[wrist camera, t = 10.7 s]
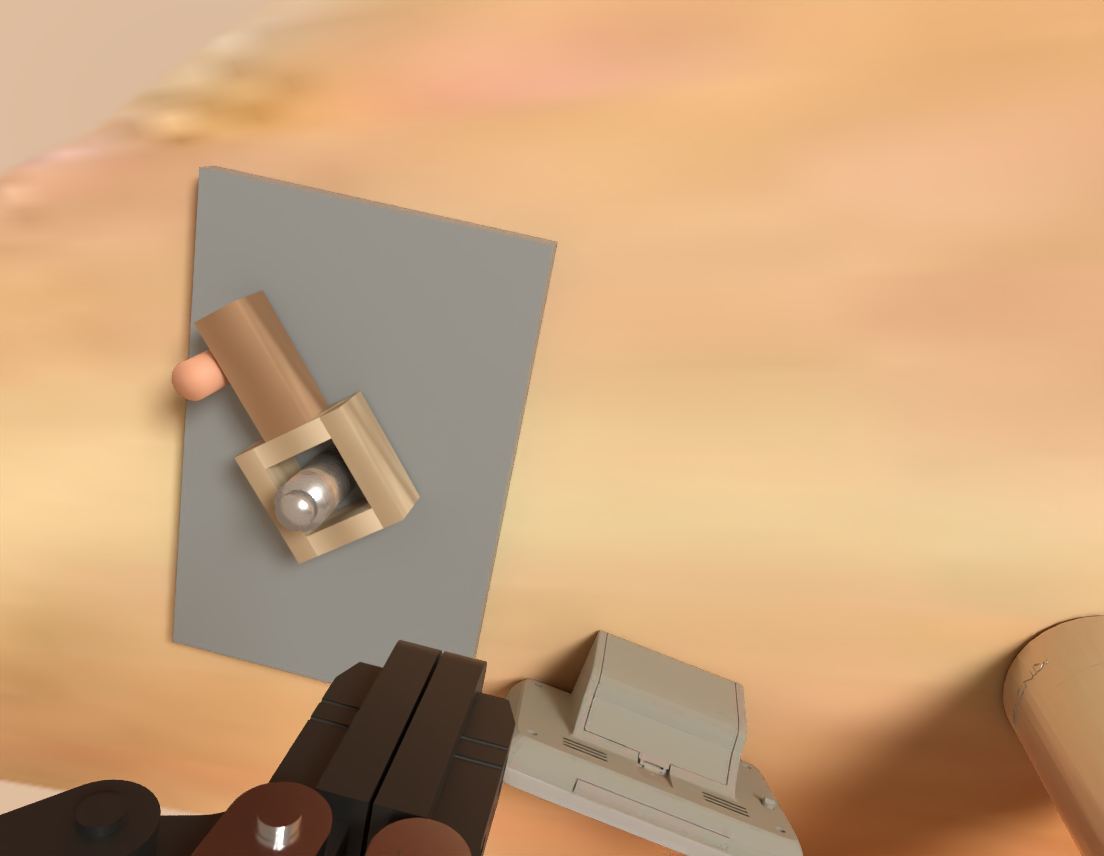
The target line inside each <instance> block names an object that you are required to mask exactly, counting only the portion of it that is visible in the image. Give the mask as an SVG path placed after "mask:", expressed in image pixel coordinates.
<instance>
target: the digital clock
mask: <svg viewBox="0 0 1104 856" xmlns="http://www.w3.org/2000/svg"><path fill="white" fill-rule="evenodd" d="M505 699H506V700H509V702H510V706H511V709H512V713H513V716H514V720H515V723H516V724H515V729H514V733H513V738H512V742H511V747H510V751H509V756H508V760H507V764H506V769H505V773H504V778H503V782H505V783H507V784H509V785H511V786H513V787H515V788H517V789H520V790H522V791H525V792H527V793H530V794H532V795H535V796H537V797H539V798H542V799H544V800H547V801H549V802H552V803H555V804H557V805H560V806H562V807H565V808H567V809H570V810H572V811H575V812H578V813H580V814H583V815H585V816H588V817H590V818H593V819H595V820H598V821H600V822H603V823H606V824H608V825H611V826H613V827H616V828H618V829H621V830H623V831H626V832H629V833H631V834H634V835H636V836H639V837H641V838H644V839H646V840H649V841H651V842H654V843H657V844H659V845H662V846H664V847H667V848H669V849H672V850H674V851H677V852H680V853H682V854H685V855H687V856H803V853H802V849H801V846H800V843H799V841H798V838H797V836H796V834H795V832H794V830H793V829H792V827H791V825H790V823H789V821H788V820H787V818H786V816H785V814H784V813H783V811H782V809H781V807H780V805H779V804H778V802H777V800H776V798H775V797H774V795H773V793H772V791H771V790H770V788H769V786H768V784H767V782H766V781H765V779H764V777H763V776H762V774H761V773H760V771H759V770H758V769H757V768H756V767H754V766H753V765H751V764H749V763H747V762H744V761H742V760H740V757H741V753H742V750H743V747H744V743H745V740H746V734H747V721H746V712H745V702H744V693H743V686H742V685H740V684H738V683H735V682H733V681H730V680H727V679H725V678H722V677H720V676H717V675H715V674H712V673H709V672H707V671H704V670H702V669H699V668H696V667H694V666H691V665H689V664H686V663H684V662H681V661H678V660H676V659H673V658H671V657H668V656H665V655H663V654H660V653H658V652H655V651H653V650H650V649H647V648H645V647H642V646H640V645H637V644H635V643H632V642H629V641H627V640H624V639H622V638H619V637H616V636H614V635H611V634H609V633H606V632H604V631H599V632H598V633H597V635H596V638H595V640H594V642H593V645H592V647H591V649H590V651H589V654H588V656H587V658H586V661H585V663H584V665H583V668H582V670H581V672H580V674H579V677H578V679H577V681H576V684H575V686H574V688H573V691H572V693H568V692H565V691H563V690H560V689H557V688H555V687H552V686H549V685H547V684H544V683H541V682H539V681H536V680H532V679H525V680H523V681H521V682H519V683H517V684H516V685H514V686H513V687H512V688H511V689H510V690H509V692H508V693H507V695H506V698H505Z"/></svg>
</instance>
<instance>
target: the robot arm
mask: <svg viewBox="0 0 1104 856" xmlns="http://www.w3.org/2000/svg"><path fill="white" fill-rule="evenodd" d="M486 666H487V662H486V661H482V660H478V659H474V658H470V657H466V656H462V655H459V654H455V653H451V652H447V651H444V653H443V654H442V650H438V649H434V648H431V647H427V646H423V645H419V644H415V643H411V642H407V641H403V640H399V641H398V642H397V643H396V645H395V647H394V649H393V650H392V652H391V654H390V656H389V657H388V659H387V661H386V663H385V665H384V666H383V668H382V667H378V666H375V665H371V664H367V663H363V662H358V663H357V664H355V665H354V666H352V667H351V668H349V669H348V670H346V671H344V672H343V673H341V674H340V675H338V676H337V677H336V678H335V679H334V681H333V682H332V684H331V685H330V687H329V689H328V690H327V692H326V693H325V695H324V696H323V698H322V701H321V703H319V704H318V706H317V707H316V709H315V711H314V712H313V714H312V715H311V719H310V720H308V722H307V723H306V725H305V726H304V728H303V729H302V731H301V732H300V734H299V736H298V737H297V739H296V740H295V742H294V743H293V745H292V747H291V748H290V750H289V751H288V753H287V754H286V756H285V758H284V759H283V761H282V762H281V764H280V765H279V767H278V769H277V770H276V772H275V773H274V775H273V776H272V778H271V780H270V781H269V783H266V784H262V785H259V786H256V787H254V788H251V789H250V790H248V791H246V792H244V793H243V794H242V795H240V796H239V797H238V798H237V799H236V800H235V801H234V802H233V803H232V804H231V805H230V806H229V808H228V809H227V810H226V811H225V812H222V813H217V814H211V815H179V816H160V813H161V810H160V804H159V802H158V800H157V798H156V797H155V795H154V794H153V793H152V792H151V791H150V790H148V789H147V788H146V787H144V786H142V785H140V784H137V783H134V782H130V781H124V780H102V781H97V782H92V783H88V784H85V785H82V786H79V787H76V788H74V789H71V790H68V791H65V792H63V793H60V794H57V795H54V796H51V797H49V798H46V799H43V800H41V801H38V802H35V803H32V804H29V805H27V806H24V807H21V808H18V809H16V810H13V811H10V812H8V813H5V814H2V815H0V856H483V853H484V850H485V846H486V842H487V839H488V835H489V832H490V828H491V824H492V821H493V818H494V814H495V810H496V807H497V803H498V800H499V796H500V791H501V787H502V782H503V778H504V773H505V769H506V764H507V760H508V756H509V751H510V747H511V742H512V738H513V733H514V729H515V724H516V723H515V720H514V716H513V713H512V709H511V706H510V702H509V700H506V699H503V698H499V697H495V696H491V695H487V694H483V693H481V692H482V687H483V682H484V677H485V672H486ZM1003 703H1004V708H1005V712H1006V716H1007V718H1008V720H1009V721H1010V723H1011V725H1012V727H1013V729H1014V731H1015V733H1016V735H1017V736H1018V738H1019V740H1020V742H1021V744H1022V746H1023V748H1024V750H1025V751H1026V753H1027V755H1028V757H1029V759H1030V761H1031V763H1032V764H1033V766H1034V769H1035V771H1036V773H1037V774H1038V776H1039V778H1040V780H1041V782H1042V784H1043V785H1044V787H1045V789H1046V791H1047V793H1048V795H1049V796H1050V798H1051V800H1052V802H1053V804H1054V806H1055V807H1056V809H1057V811H1058V813H1059V815H1060V817H1061V818H1062V820H1063V822H1064V824H1065V826H1066V828H1067V829H1068V831H1069V833H1070V835H1071V837H1072V839H1073V840H1074V842H1075V844H1076V846H1077V848H1078V850H1079V851H1080V853H1081V855H1082V856H1104V616H1103V615H1101V616H1092V617H1082V618H1078V619H1075V620H1071V621H1068V622H1064V623H1061V624H1059V625H1057V626H1055V627H1053V628H1051V629H1048V630H1046V631H1044V632H1043V633H1042V634H1040V635H1039V636H1037V637H1036V638H1035V639H1033V640H1032V641H1030V642H1029V643H1028V644H1027V645H1026V646H1025V647H1024V648H1023V649H1022V650H1021V652H1020V653H1019V654H1018V655H1017V656H1016V658H1015V659H1014V661H1013V663H1012V664H1011V666H1010V668H1009V669H1008V672H1007V675H1006V679H1005V682H1004V685H1003Z"/></svg>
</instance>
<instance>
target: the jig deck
mask: <svg viewBox="0 0 1104 856" xmlns="http://www.w3.org/2000/svg"><path fill="white" fill-rule="evenodd" d="M556 247H557V242H555V241H550V240H546V239H541V238H537V237H532V236H528V235H523V234H519V233H514V232H510V231H505V230H501V229H496V228H492V227H487V226H483V225H478V224H474V223H469V222H465V221H460V220H456V219H451V218H447V217H442V216H438V215H433V214H429V213H424V212H420V211H415V210H411V209H406V208H402V207H397V206H393V205H388V204H384V203H379V202H375V201H370V200H366V199H361V198H357V197H352V196H348V195H343V194H339V193H334V192H330V191H325V190H321V189H316V188H312V187H307V186H302V185H298V184H293V183H289V182H284V181H280V180H275V179H271V178H266V177H262V176H257V175H253V174H248V173H244V172H239V171H235V170H230V169H226V168H221V167H217V166H209V167H199V185H198V203H197V220H196V238H195V256H194V274H193V292H192V310H191V327H190V345H189V359H190V358H192V357H194V356H196V355H198V354H201V353H203V352H205V351H207V350H209V347H208V346H207V344H206V342H205V341H204V339H203V337H202V336H201V334H200V332H199V331H198V329H197V327H196V326H195V324H194V322H196V321H198V320H200V319H202V318H203V317H205V316H207V315H209V314H211V313H213V312H215V311H217V310H218V309H220V308H222V307H224V306H226V305H228V304H230V303H231V302H233V301H236V300H238V299H241V298H243V297H246V296H249V295H251V294H254V293H257V292H259V291H262V290H263V292H264V294H265V295H266V297H267V299H268V301H269V302H270V304H271V306H272V308H273V309H274V311H275V313H276V314H277V316H278V318H279V320H280V321H281V323H282V325H283V327H284V328H285V330H286V332H287V334H288V335H289V337H290V339H291V341H292V342H293V344H294V346H295V348H296V349H297V351H298V353H299V355H300V356H301V358H302V360H303V361H304V363H305V365H306V367H307V368H308V370H309V372H310V374H311V375H312V377H313V379H314V381H315V382H316V384H317V386H318V388H319V389H320V391H321V393H322V395H323V396H324V398H325V400H326V402H327V403H328V405H329V406H330V405H332V404H334V403H336V402H338V401H340V400H342V399H344V398H346V397H348V396H350V395H353V394H355V393H357V392H359V391H361V393H362V395H363V396H364V398H365V400H366V402H367V403H368V405H369V407H370V409H371V411H372V412H373V414H374V416H375V418H376V419H377V421H378V423H379V425H380V427H381V428H382V430H383V432H384V434H385V435H386V437H387V439H388V441H389V443H390V444H391V446H392V448H393V450H394V451H395V453H396V455H397V457H398V459H399V460H400V462H401V464H402V466H403V467H404V469H405V471H406V473H407V475H408V476H409V478H410V480H411V482H412V483H413V485H414V487H415V489H416V491H417V492H418V494H419V496H420V497H419V499H418V500H417V502H416V503H415V504H414V506H413V507H412V508H411V510H410V511H409V513H408V514H407V515H406V517H405V518H404V520H402V521H400V522H397V523H395V524H392V525H390V526H388V527H385V528H383V529H381V530H378V531H376V532H374V533H371V534H369V535H367V536H364V537H362V538H359V539H357V540H355V541H352V542H350V543H348V544H345V545H343V546H341V547H338V548H336V549H334V550H331V551H329V552H326V553H324V554H322V555H319V556H317V557H315V558H312V559H310V560H308V561H305V562H303V563H300V564H299V563H298V561H297V560H296V558H295V556H294V555H293V553H292V551H291V550H290V548H289V546H288V545H287V543H286V542H285V540H284V538H283V537H282V535H281V533H280V532H279V530H278V528H277V527H276V525H275V524H274V522H273V520H272V519H271V517H270V515H269V514H268V512H267V510H266V509H265V507H264V506H263V504H262V502H261V501H260V499H259V497H258V496H257V494H256V492H255V491H254V489H253V488H252V486H251V484H250V483H249V481H248V479H247V478H246V476H245V475H244V473H243V471H242V470H241V468H240V466H239V465H238V463H237V461H236V460H235V457H236V456H237V455H239V454H240V453H241V452H243V451H244V450H245V449H247V448H248V447H250V446H251V445H252V444H254V443H255V442H256V441H258V440H259V439H261V438H262V436H261V434H260V433H259V431H258V429H257V428H256V426H255V424H254V423H253V421H252V419H251V418H250V416H249V414H248V413H247V411H246V409H245V408H244V406H243V404H242V403H241V401H240V399H239V398H238V396H237V394H236V393H235V391H234V389H233V388H232V386H231V384H228V385H226V386H225V387H223V388H221V389H219V390H218V391H216V392H214V393H212V394H210V395H209V396H207V397H205V398H203V399H201V400H198V401H191V400H188V399H186V417H185V434H184V452H183V470H182V488H181V506H180V524H179V542H178V559H177V577H176V595H175V613H174V631H173V642H176V643H180V644H184V645H188V646H191V647H195V648H199V649H203V650H207V651H211V652H214V653H218V654H222V655H226V656H230V657H233V658H237V659H241V660H245V661H249V662H253V663H256V664H260V665H264V666H268V667H272V668H275V669H279V670H283V671H287V672H291V673H295V674H298V675H302V676H306V677H310V678H314V679H317V680H321V681H325V682H329V683H332V682H333V681H334V679H335V678H336V677H337V676H338V675H340V674H341V673H343V672H344V671H346V670H348V669H349V668H351V667H352V666H354V665H355V664H357V663H358V662H363V663H367V664H371V665H375V666H378V667H382V668H383V666H384V665H385V663H386V661H387V659H388V657H389V656H390V654H391V652H392V650H393V649H394V647H395V645H396V643H397V642H398V641H399V640H403V641H407V642H411V643H415V644H419V645H423V646H427V647H431V648H434V649H438V650H442V654H443V653H444V651H447V652H451V653H455V654H459V655H462V656H466V657H470V658H474V659H475V657H476V652H477V647H478V642H479V637H480V632H481V627H482V622H483V617H484V612H485V607H486V602H487V596H488V591H489V586H490V581H491V576H492V571H493V566H494V561H495V556H496V551H497V546H498V541H499V536H500V531H501V526H502V520H503V515H504V510H505V505H506V500H507V495H508V490H509V485H510V480H511V475H512V470H513V465H514V460H515V455H516V450H517V445H518V439H519V434H520V429H521V424H522V419H523V414H524V409H525V404H526V399H527V394H528V389H529V384H530V379H531V374H532V369H533V363H534V358H535V353H536V348H537V343H538V338H539V333H540V328H541V323H542V318H543V313H544V308H545V303H546V298H547V293H548V287H549V282H550V277H551V272H552V267H553V262H554V257H555V252H556ZM332 444H334V442H333V440H332V439H329V440H327V441H325V442H323V443H320V444H318V445H316V446H314V447H312V448H310V449H308V450H305V451H303V452H301V453H299V454H297V455H295V458H296V460H297V462H298V463H299V465H300V467H301V468H303V467H304V466H306V465H307V464H308V463H309V462H310V461H311V460H312V459H314V458H315V457H316V456H317V455H318V454H319V453H320V452H321V451H323V450H324V449H325V448H326V447H328V446H329V445H332ZM364 497H365V496H364V494H363V492H362V490H361V489H360V487H359V485H358V484H357V486H356V487H355V488H354V489H353V490H352V491H351V492H350V493H349V494H348V495H347V496H346V498H345V499H344V500H343V501H342V502H341V503H340V504H339V505H338V506H337V507H336V508H335V509H334V510H337V509H339V508H341V507H343V506H346V505H348V504H350V503H353V502H355V501H357V500H359V499H362V498H364Z"/></svg>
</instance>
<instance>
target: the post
mask: <svg viewBox="0 0 1104 856" xmlns="http://www.w3.org/2000/svg"><path fill="white" fill-rule="evenodd" d="M356 486H357V482H356V480H355V478H354V477H353V475H352V473H351V471H350V470H349V468H348V466H347V465H346V463H345V461H344V459H343V458H342V456H341V454H340V452H339V451H338V449H337V447H336V446H335V444H332V445H329V446H328V447H326V448H325V449H324V450H323V451H321V452H320V453H319V454H318V455H317V456H316V457H315V458H314V459H312V460H311V461H310V462H309V463H308V464H307V465H306V466H304V467H303V468H302V469H301V470H300V471H299V472H298V473H297V474H295V475H294V476H293V477H292V478H291V479H290V480H289V481H288V482H286V483H285V484H284V485H283V486H282V487H281V488H280V489H279V490H278V492H277V493H276V496H275V500H274V506H275V515H276V518H277V520H278V522H279V523H280V524H281V525H282V526H283V527H285V528H286V529H288V530H292V531H311V530H314V529H316V528H317V527H319V526H320V525H321V524H322V522H323V521H324V520H325V519H326V518H327V517H328V516H329V515H330V514H331V513H332V512H333V511H334V509H335V508H336V507H337V506H338V505H339V504H340V503H341V502H342V501H343V500H344V499H345V498H346V496H347V495H348V494H349V493H350V492H351V491H352V490H353V489H354V488H355V487H356Z"/></svg>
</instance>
